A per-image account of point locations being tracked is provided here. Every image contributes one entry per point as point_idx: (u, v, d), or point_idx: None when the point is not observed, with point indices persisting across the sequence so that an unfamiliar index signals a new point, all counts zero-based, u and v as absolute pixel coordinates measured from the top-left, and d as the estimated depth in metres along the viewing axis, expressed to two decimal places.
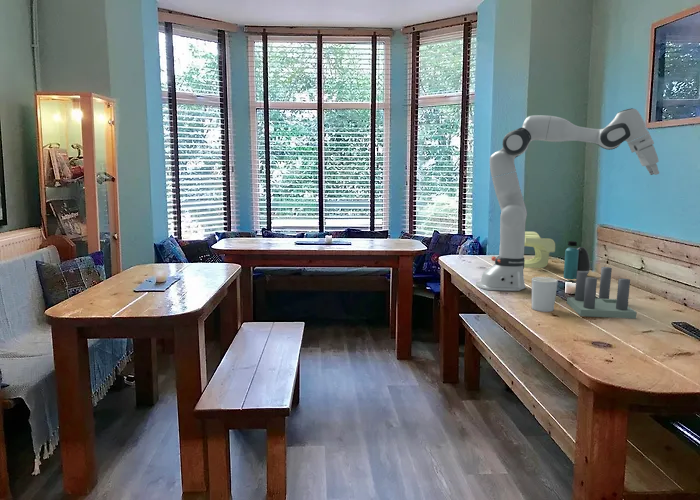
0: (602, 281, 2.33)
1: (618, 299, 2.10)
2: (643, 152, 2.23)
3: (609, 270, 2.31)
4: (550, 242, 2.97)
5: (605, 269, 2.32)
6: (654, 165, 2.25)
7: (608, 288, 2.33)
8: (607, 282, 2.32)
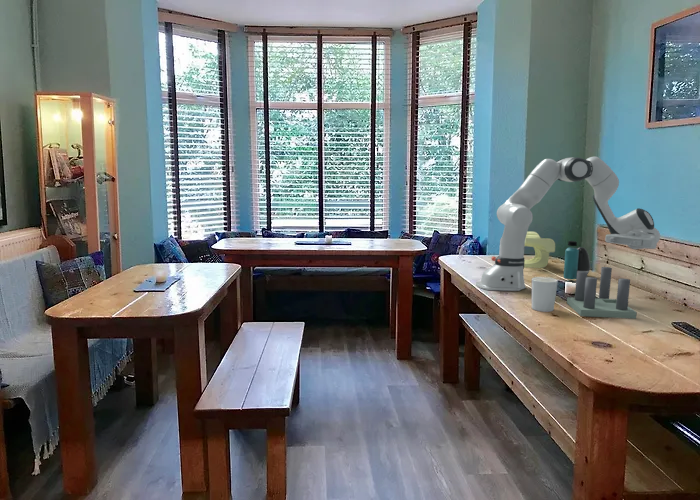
0: (602, 281, 2.33)
1: (618, 299, 2.10)
2: (655, 238, 2.37)
3: (609, 270, 2.31)
4: (550, 242, 2.97)
5: (605, 269, 2.32)
6: (641, 243, 2.36)
7: (608, 288, 2.33)
8: (607, 282, 2.32)
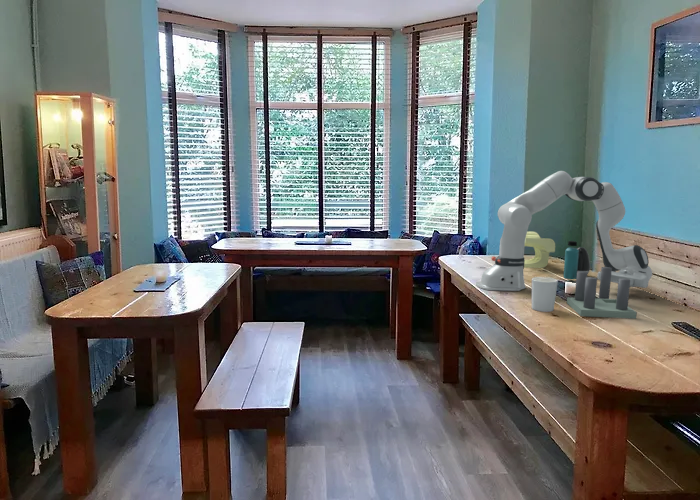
0: (602, 281, 2.33)
1: (618, 299, 2.10)
2: (647, 277, 2.38)
3: (609, 270, 2.31)
4: (550, 242, 2.97)
5: (605, 269, 2.32)
6: (632, 282, 2.36)
7: (608, 288, 2.33)
8: (607, 282, 2.32)
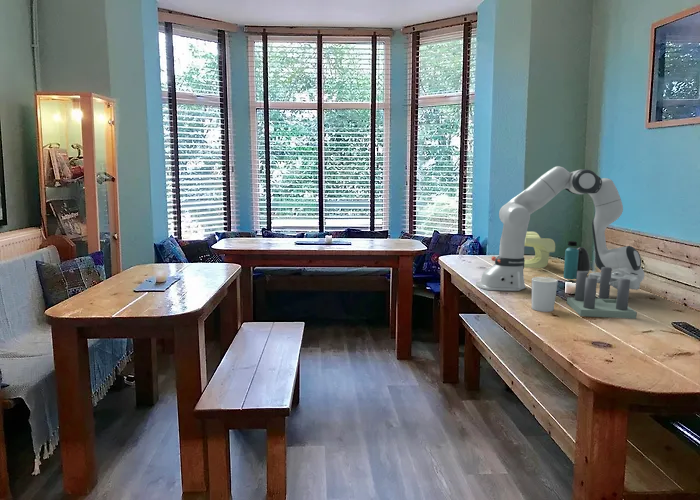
0: (602, 281, 2.33)
1: (618, 299, 2.10)
2: (638, 279, 2.33)
3: (609, 270, 2.31)
4: (550, 242, 2.97)
5: (605, 269, 2.32)
6: None
7: (608, 288, 2.33)
8: (607, 282, 2.32)
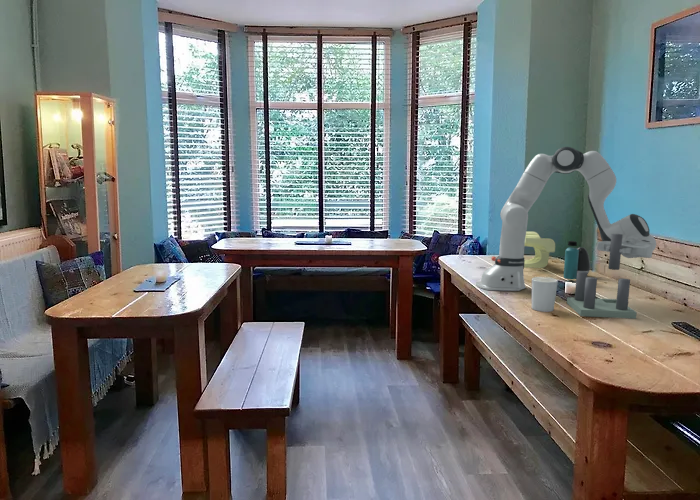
0: (612, 249, 2.18)
1: (618, 299, 2.10)
2: (651, 246, 2.18)
3: (620, 236, 2.17)
4: (550, 242, 2.97)
5: (615, 235, 2.17)
6: (630, 251, 2.18)
7: (619, 256, 2.18)
8: (618, 249, 2.18)
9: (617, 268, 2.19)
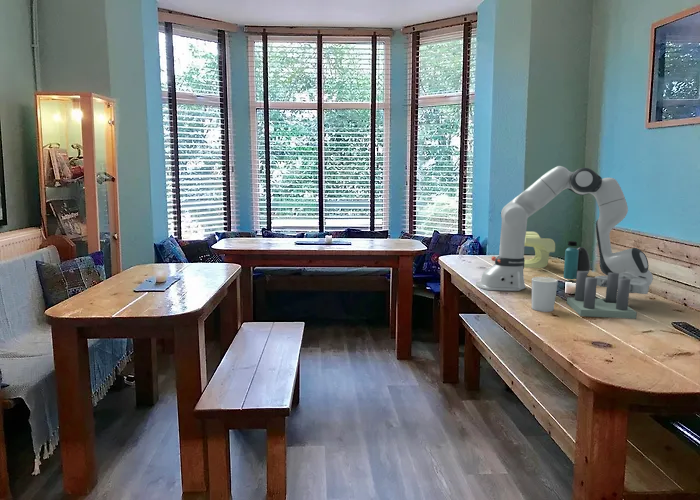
0: (609, 288, 2.21)
1: (618, 299, 2.10)
2: (647, 282, 2.20)
3: (616, 276, 2.19)
4: (550, 242, 2.97)
5: (612, 275, 2.20)
6: (629, 288, 2.19)
7: (615, 295, 2.21)
8: (614, 288, 2.20)
9: None
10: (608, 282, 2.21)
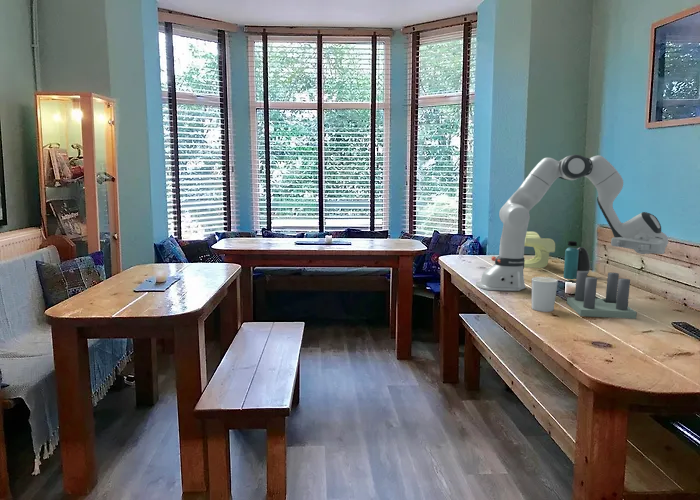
0: (609, 288, 2.21)
1: (618, 299, 2.10)
2: (664, 242, 2.25)
3: (616, 276, 2.19)
4: (550, 242, 2.97)
5: (612, 275, 2.20)
6: (649, 247, 2.23)
7: (615, 295, 2.21)
8: (614, 288, 2.20)
9: None
10: (608, 282, 2.21)
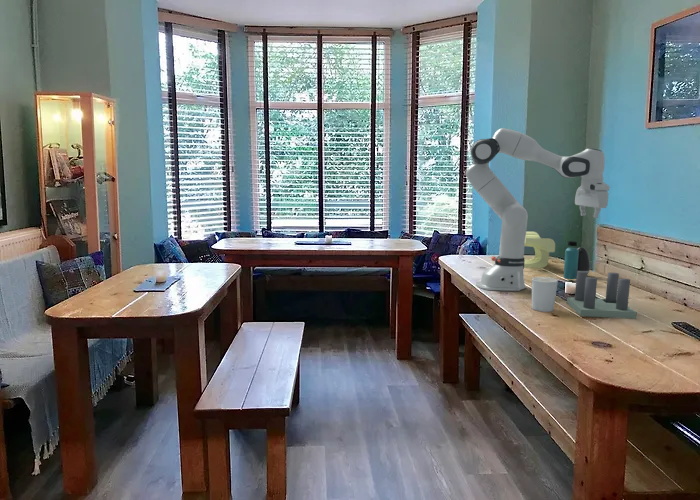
0: (609, 288, 2.21)
1: (618, 299, 2.10)
2: (599, 194, 2.35)
3: (616, 276, 2.19)
4: (550, 242, 2.97)
5: (612, 275, 2.20)
6: (598, 209, 2.39)
7: (615, 295, 2.21)
8: (614, 288, 2.20)
9: None
10: (608, 282, 2.21)
